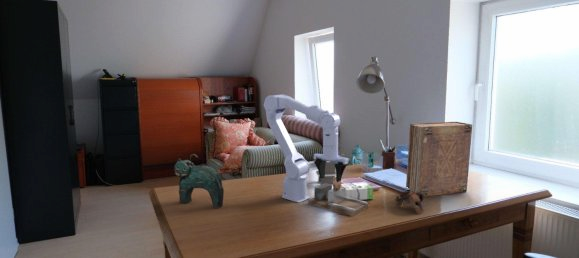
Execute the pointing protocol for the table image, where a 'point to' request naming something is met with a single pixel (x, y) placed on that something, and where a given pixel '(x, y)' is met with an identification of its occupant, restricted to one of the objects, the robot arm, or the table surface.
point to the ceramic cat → (198, 181)
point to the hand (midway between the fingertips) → (330, 179)
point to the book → (438, 158)
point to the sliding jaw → (336, 192)
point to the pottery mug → (410, 194)
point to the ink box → (358, 190)
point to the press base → (345, 206)
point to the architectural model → (328, 173)
